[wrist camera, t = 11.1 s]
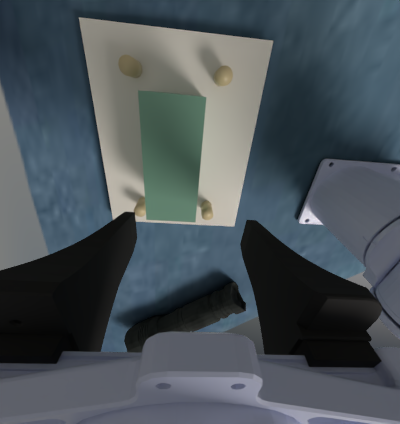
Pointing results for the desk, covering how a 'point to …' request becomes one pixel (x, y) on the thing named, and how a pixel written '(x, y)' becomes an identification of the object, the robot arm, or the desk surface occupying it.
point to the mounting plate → (183, 84)
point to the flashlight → (188, 317)
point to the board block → (171, 153)
